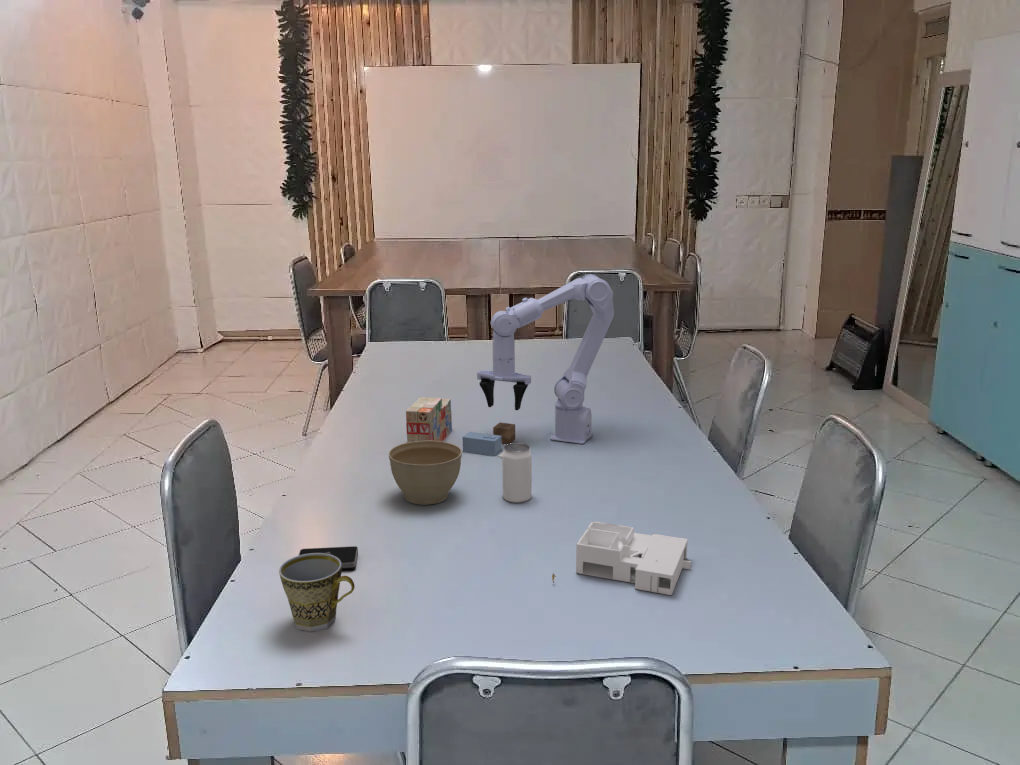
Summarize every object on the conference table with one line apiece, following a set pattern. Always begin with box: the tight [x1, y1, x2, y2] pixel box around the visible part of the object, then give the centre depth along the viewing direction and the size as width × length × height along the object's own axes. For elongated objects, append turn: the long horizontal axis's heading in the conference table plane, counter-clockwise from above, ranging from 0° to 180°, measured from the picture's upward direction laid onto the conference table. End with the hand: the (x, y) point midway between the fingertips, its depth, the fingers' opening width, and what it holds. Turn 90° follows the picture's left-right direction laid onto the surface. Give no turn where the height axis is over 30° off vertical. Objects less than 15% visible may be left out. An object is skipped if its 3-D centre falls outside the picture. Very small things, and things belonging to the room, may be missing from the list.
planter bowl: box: [388, 441, 463, 506], centre depth 189 cm, size 16×16×11 cm
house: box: [551, 520, 692, 596], centre depth 156 cm, size 22×18×6 cm
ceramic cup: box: [278, 553, 356, 633], centre depth 139 cm, size 13×10×10 cm
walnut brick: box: [492, 422, 516, 445], centre depth 226 cm, size 4×4×4 cm
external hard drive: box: [297, 545, 359, 572], centre depth 160 cm, size 7×11×2 cm, turn 95°
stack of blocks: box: [405, 396, 453, 443], centre depth 224 cm, size 21×6×12 cm, turn 169°
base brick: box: [462, 431, 503, 457], centre depth 219 cm, size 9×4×4 cm, turn 68°
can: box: [501, 442, 533, 504], centre depth 188 cm, size 6×6×12 cm
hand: (504, 407), depth 224 cm, fingers open, 7 cm apart
